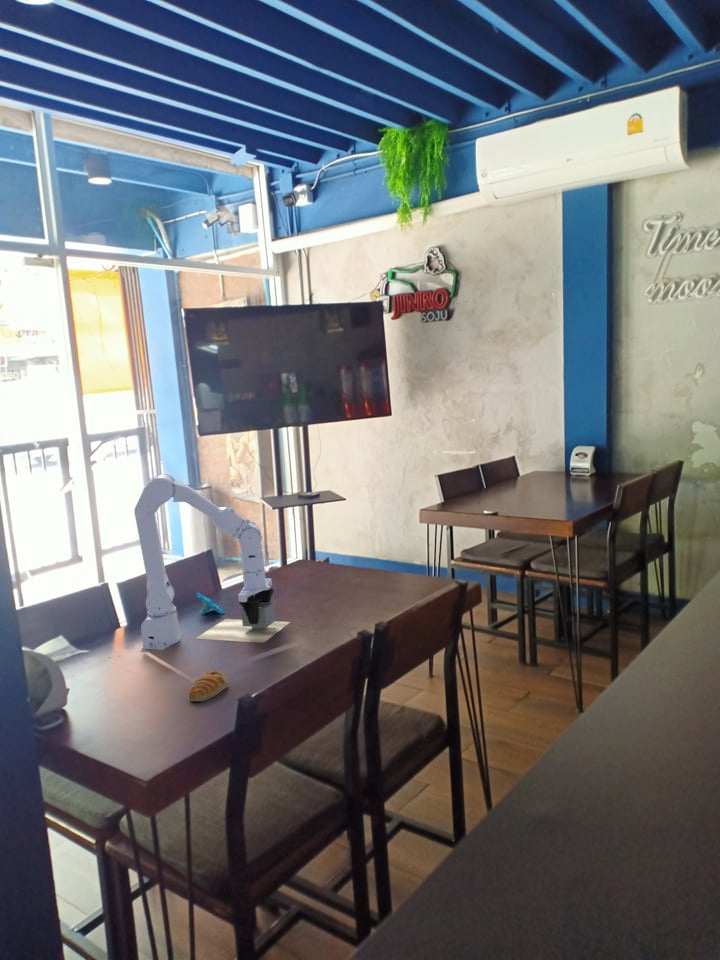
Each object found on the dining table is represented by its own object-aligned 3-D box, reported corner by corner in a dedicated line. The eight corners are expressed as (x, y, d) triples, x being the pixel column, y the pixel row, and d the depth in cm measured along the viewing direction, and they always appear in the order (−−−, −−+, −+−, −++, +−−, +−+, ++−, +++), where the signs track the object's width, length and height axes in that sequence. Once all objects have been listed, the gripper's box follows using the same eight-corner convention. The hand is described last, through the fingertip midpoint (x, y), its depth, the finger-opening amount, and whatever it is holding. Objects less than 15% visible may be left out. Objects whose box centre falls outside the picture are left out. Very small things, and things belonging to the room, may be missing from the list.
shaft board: (264, 646, 184) (263, 642, 183) (195, 642, 191) (195, 638, 191) (290, 625, 197) (290, 622, 197) (226, 622, 205) (225, 618, 205)
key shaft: (264, 630, 193) (263, 617, 192) (252, 629, 194) (250, 616, 193) (267, 628, 194) (265, 615, 194) (255, 627, 195) (253, 614, 195)
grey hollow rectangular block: (266, 627, 190) (264, 608, 189) (242, 626, 193) (240, 607, 192) (275, 620, 195) (273, 602, 194) (252, 619, 197) (250, 601, 197)
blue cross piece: (228, 613, 207) (199, 592, 205) (214, 630, 206) (186, 610, 204) (224, 607, 218) (197, 587, 216) (212, 624, 217) (184, 604, 215)
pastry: (209, 705, 153) (207, 688, 152) (181, 703, 155) (178, 686, 155) (230, 686, 162) (228, 669, 161) (203, 684, 164) (201, 668, 163)
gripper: (253, 578, 184) (258, 630, 185) (279, 562, 197) (284, 611, 199) (228, 577, 186) (234, 629, 188) (256, 562, 199) (261, 610, 201)
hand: (258, 620), depth 194 cm, fingers closed on grey hollow rectangular block, 5 cm apart
